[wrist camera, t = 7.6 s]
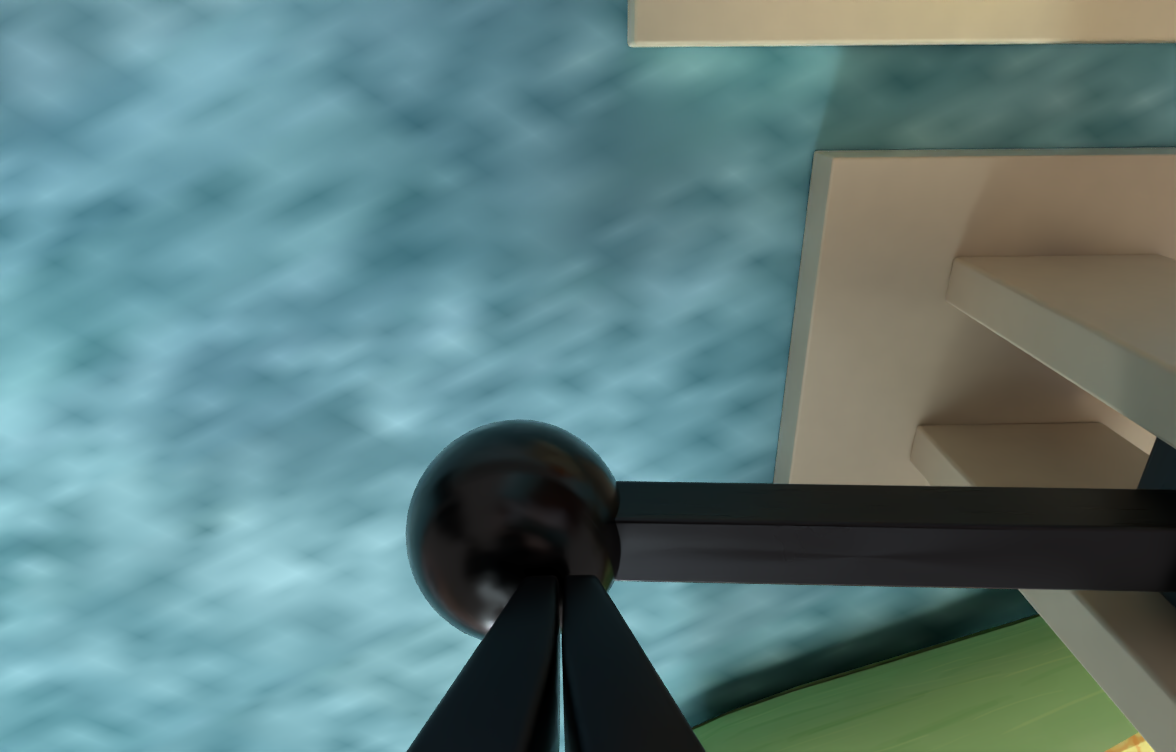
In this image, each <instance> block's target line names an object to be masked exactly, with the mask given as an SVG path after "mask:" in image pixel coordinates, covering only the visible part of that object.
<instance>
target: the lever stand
mask: <svg viewBox="0 0 1176 752" xmlns="http://www.w3.org/2000/svg"><path fill="white" fill-rule="evenodd" d="M1156 437H1158V438H1159V439H1161V440H1162V441H1164V442H1166V443H1167V444H1169V445H1170V446H1172V447H1173V448H1175V449H1176V147H1142V148H1038V149H934V150H830V151H815V152H814V158H813V166H812V174H811V182H810V190H809V198H808V206H807V214H806V222H805V230H804V238H803V246H802V254H801V263H800V271H799V279H798V287H797V295H796V303H795V311H794V319H793V327H792V335H791V343H790V351H789V359H788V367H787V375H786V383H785V391H784V399H783V408H782V416H781V424H780V432H779V440H778V448H777V456H776V464H775V472H774V480H773V483H774V484H841V485H908V486H975V487H1042V488H1109V489H1137V486H1138V484H1139V481H1140V478H1141V476H1142V473H1143V471H1144V468H1145V465H1146V463H1147V460H1148V458H1149V455H1150V452H1151V450H1152V447H1153V445H1154V442H1155V439H1156ZM1018 590H1019V591H1020V592H1021V593H1022V594H1023V596H1024V597H1025V598H1026V599H1027V600H1028V602H1029V603H1030V604H1031V605H1032V606H1033V607H1034V609H1035V610H1036V611H1037V612H1038V613H1039V615H1040V616H1041V617H1042V618H1043V619H1044V620H1045V622H1046V623H1047V624H1048V625H1049V626H1050V628H1051V629H1052V630H1053V631H1054V632H1055V634H1056V635H1057V636H1058V637H1059V638H1060V639H1061V641H1062V642H1063V643H1064V644H1065V645H1066V647H1067V648H1068V649H1069V650H1070V651H1071V653H1072V654H1073V655H1074V656H1075V657H1076V658H1077V660H1078V661H1079V662H1080V663H1081V664H1082V666H1083V667H1084V668H1085V669H1086V670H1087V672H1088V673H1089V674H1090V675H1091V676H1092V677H1093V679H1094V680H1095V681H1096V682H1097V683H1098V685H1099V686H1100V687H1101V688H1102V689H1103V691H1104V692H1105V693H1106V694H1107V695H1108V696H1109V698H1110V699H1111V700H1112V701H1113V702H1114V704H1115V705H1116V706H1117V707H1118V708H1119V710H1120V711H1121V712H1122V713H1123V714H1124V715H1125V717H1126V718H1127V719H1128V720H1129V721H1130V723H1131V724H1132V725H1133V726H1134V727H1135V729H1136V730H1137V731H1138V732H1139V733H1140V734H1141V736H1142V737H1143V738H1144V739H1145V740H1146V742H1147V743H1148V744H1149V745H1150V746H1151V748H1152V749H1153V750H1154V751H1155V752H1176V608H1175V607H1174V606H1173V605H1171V604H1170V603H1169V602H1168V601H1167V600H1166V599H1165V598H1164V597H1163V596H1162V595H1161V594H1160V593H1159V592H1135V591H1086V590H1037V589H1018Z"/></svg>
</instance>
